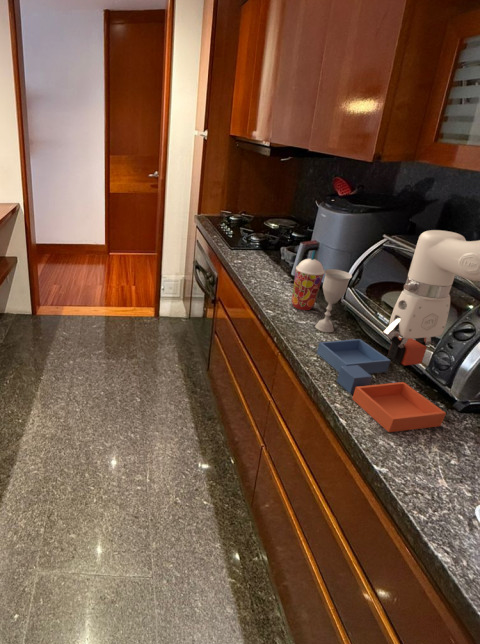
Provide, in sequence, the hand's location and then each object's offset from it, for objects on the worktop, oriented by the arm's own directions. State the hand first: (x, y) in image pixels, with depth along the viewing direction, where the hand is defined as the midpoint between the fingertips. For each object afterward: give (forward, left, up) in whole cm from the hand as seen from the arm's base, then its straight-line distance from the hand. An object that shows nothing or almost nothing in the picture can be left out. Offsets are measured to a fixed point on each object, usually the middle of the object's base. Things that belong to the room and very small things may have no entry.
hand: (404, 357), depth 91 cm
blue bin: (+4, -10, -8) cm, 13 cm away
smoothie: (-3, -41, -8) cm, 41 cm away
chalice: (-1, -27, -8) cm, 28 cm away
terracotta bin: (+8, +8, -8) cm, 14 cm away
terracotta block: (0, 0, 0) cm, 0 cm away
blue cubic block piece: (+11, -1, -8) cm, 14 cm away
